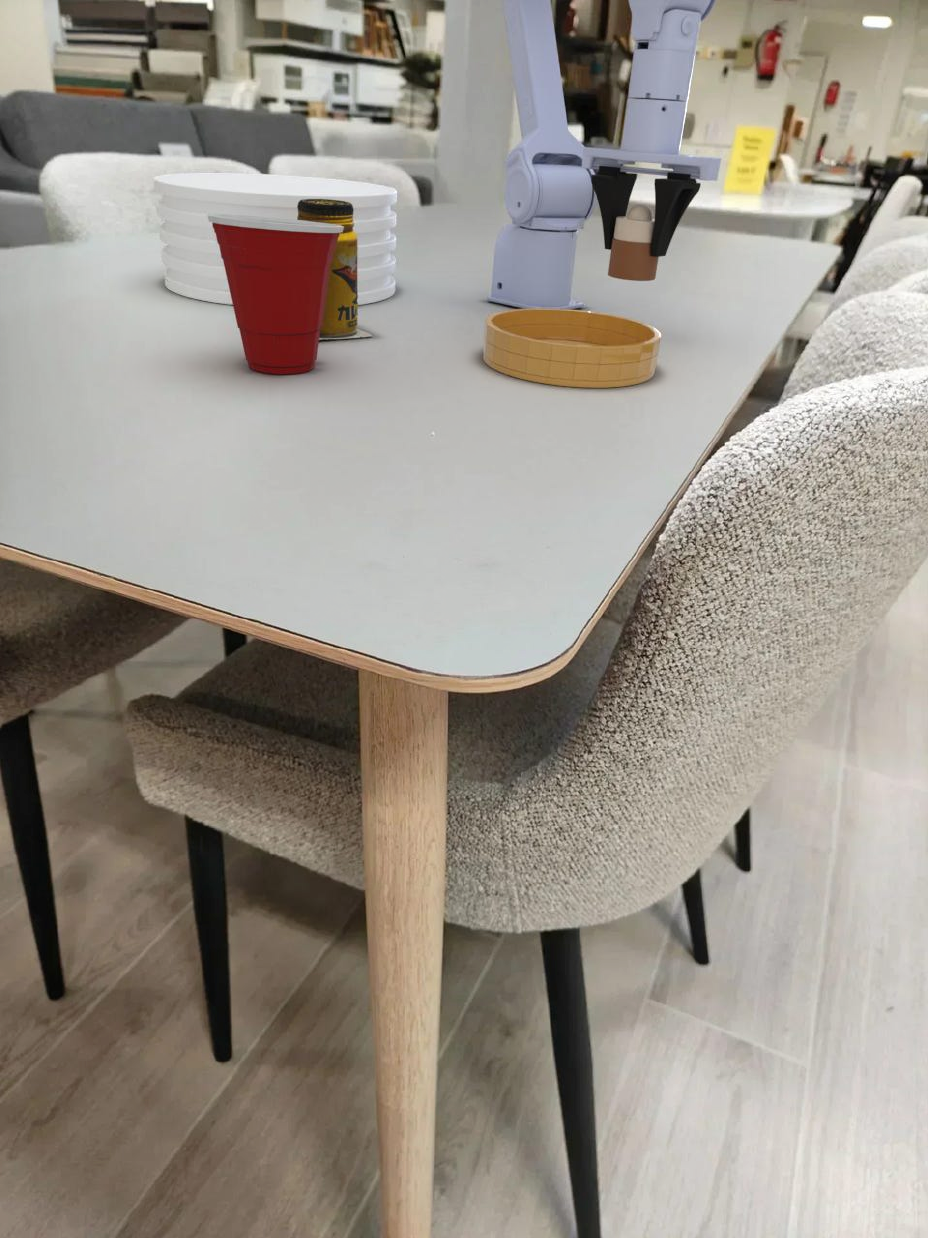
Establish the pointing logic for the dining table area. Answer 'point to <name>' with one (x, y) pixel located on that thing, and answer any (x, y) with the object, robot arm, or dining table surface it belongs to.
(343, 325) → the condiment
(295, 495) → the dining table surface
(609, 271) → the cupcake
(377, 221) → the plate stack
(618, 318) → the bowl
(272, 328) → the plastic cup
